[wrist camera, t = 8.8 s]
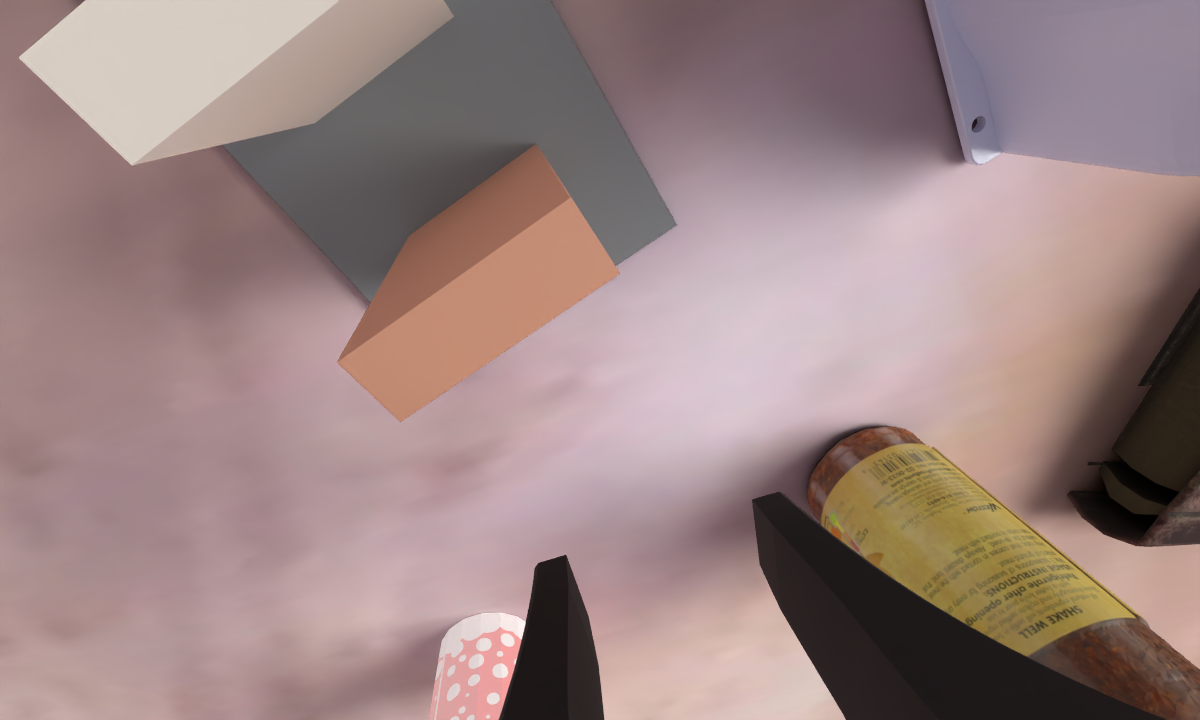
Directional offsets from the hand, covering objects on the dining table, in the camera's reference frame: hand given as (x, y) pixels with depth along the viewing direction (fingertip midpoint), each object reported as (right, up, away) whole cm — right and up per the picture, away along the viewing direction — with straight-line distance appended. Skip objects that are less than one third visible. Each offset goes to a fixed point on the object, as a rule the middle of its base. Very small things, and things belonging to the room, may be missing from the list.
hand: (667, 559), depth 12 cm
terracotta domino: (-5, +9, +6) cm, 12 cm away
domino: (-8, +13, +3) cm, 16 cm away
